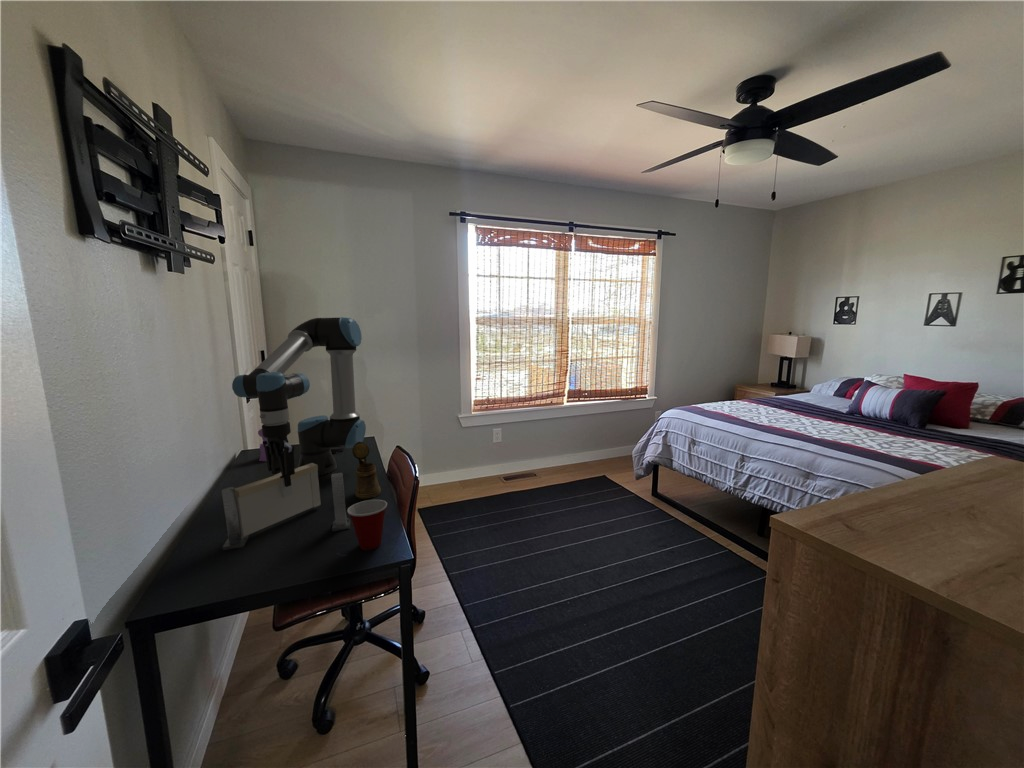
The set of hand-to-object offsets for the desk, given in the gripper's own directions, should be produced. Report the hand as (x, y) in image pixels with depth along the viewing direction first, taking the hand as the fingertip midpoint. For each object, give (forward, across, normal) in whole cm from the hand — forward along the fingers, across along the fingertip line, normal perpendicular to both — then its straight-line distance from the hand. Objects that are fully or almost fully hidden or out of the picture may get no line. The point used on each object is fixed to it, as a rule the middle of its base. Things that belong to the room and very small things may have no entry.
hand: (284, 494), depth 128 cm
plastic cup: (+10, +34, +4) cm, 36 cm away
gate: (+8, 0, -1) cm, 8 cm away
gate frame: (+10, +9, -4) cm, 14 cm away
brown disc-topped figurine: (+10, +4, +28) cm, 30 cm away
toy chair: (+10, -65, +31) cm, 73 cm away
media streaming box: (+10, -52, +52) cm, 74 cm away
